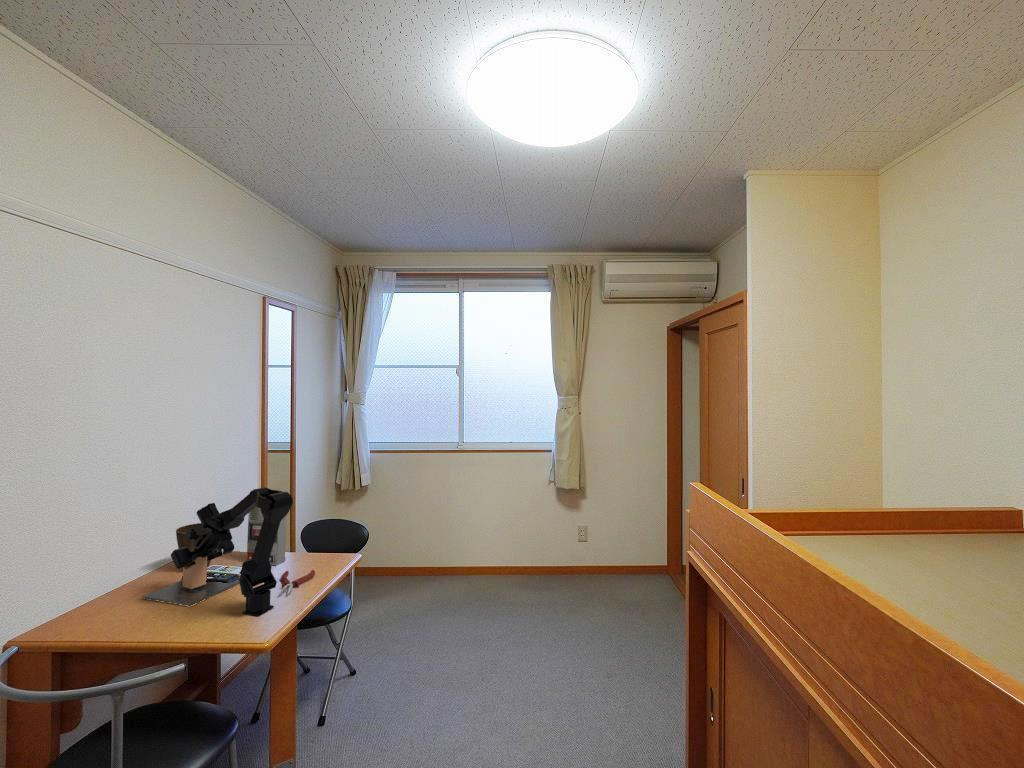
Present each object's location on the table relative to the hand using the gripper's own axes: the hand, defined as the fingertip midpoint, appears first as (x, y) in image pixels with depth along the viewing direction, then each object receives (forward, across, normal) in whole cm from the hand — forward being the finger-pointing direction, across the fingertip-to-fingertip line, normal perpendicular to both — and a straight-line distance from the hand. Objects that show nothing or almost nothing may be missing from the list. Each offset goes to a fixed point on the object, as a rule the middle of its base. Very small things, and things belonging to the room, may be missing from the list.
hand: (192, 565), depth 158 cm
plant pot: (+19, -13, -7) cm, 24 cm away
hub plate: (+5, 0, +7) cm, 9 cm away
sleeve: (+4, 0, +6) cm, 7 cm away
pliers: (-11, -19, +25) cm, 33 cm away
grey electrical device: (+7, -29, +5) cm, 31 cm away
